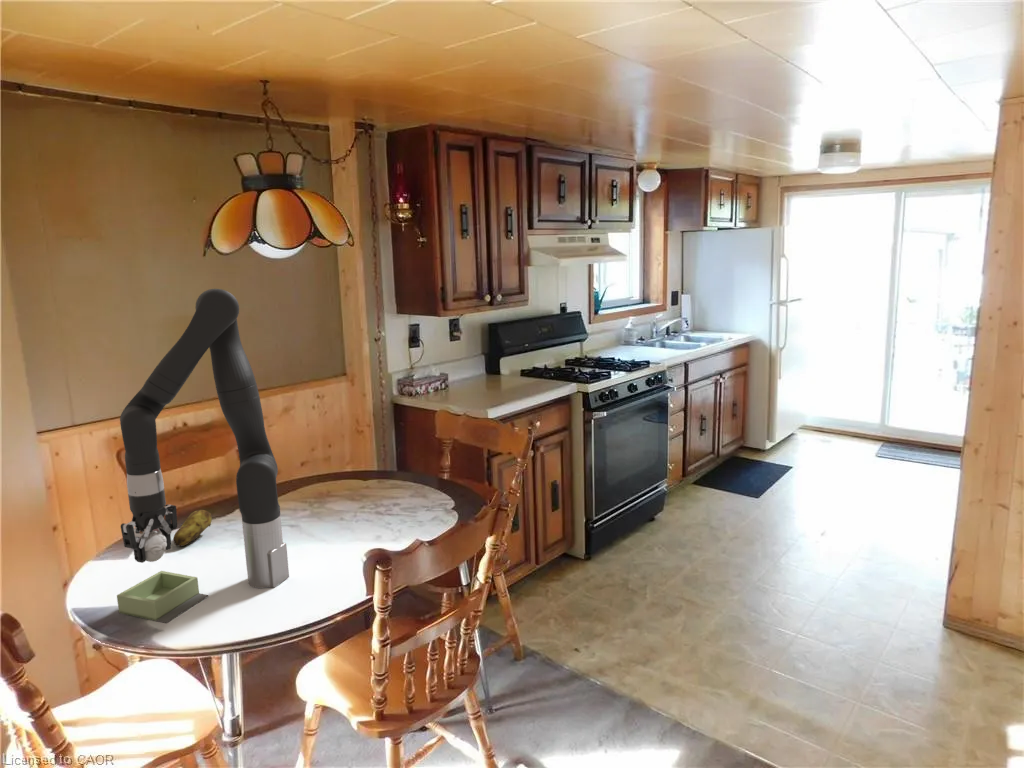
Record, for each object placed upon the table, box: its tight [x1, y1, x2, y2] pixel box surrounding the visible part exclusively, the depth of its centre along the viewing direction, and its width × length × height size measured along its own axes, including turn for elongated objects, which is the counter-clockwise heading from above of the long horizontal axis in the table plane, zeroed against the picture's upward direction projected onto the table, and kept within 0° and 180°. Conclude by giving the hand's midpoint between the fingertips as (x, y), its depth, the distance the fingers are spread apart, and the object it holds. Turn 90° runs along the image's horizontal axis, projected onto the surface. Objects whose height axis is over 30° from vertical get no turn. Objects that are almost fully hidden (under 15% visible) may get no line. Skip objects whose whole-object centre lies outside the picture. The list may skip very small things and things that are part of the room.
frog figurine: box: [143, 530, 167, 563], centre depth 162 cm, size 6×7×7 cm
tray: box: [116, 570, 209, 624], centre depth 164 cm, size 14×13×5 cm
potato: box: [173, 509, 213, 547], centre depth 200 cm, size 8×13×8 cm, turn 145°
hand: (154, 555), depth 162 cm, fingers closed on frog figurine, 6 cm apart
